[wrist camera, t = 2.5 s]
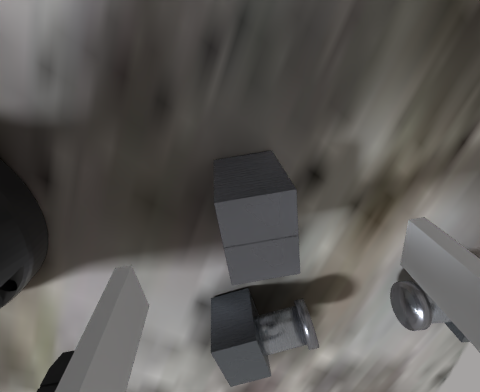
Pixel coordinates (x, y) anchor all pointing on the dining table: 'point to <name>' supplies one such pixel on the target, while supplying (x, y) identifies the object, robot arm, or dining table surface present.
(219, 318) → the shaft
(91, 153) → the dining table surface
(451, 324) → the shaft
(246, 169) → the block
